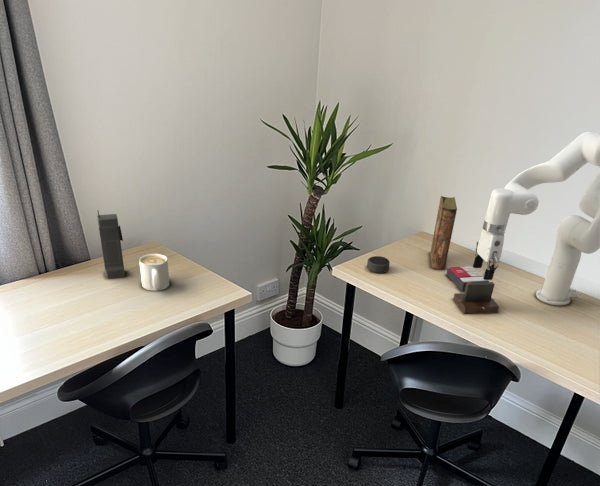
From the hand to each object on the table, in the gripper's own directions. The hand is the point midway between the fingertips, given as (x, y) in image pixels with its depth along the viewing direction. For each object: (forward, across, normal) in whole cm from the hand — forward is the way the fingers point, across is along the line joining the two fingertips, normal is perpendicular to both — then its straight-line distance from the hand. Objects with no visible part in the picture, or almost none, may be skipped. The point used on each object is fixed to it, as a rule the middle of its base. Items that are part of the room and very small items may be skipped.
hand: (482, 273), depth 216 cm
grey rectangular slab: (+10, 0, 0) cm, 10 cm away
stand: (+13, 0, 0) cm, 13 cm away
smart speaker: (+14, +33, +28) cm, 45 cm away
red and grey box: (+13, +19, -5) cm, 24 cm away
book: (+13, +39, 0) cm, 41 cm away
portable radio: (+15, +33, +130) cm, 135 cm away
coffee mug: (+15, +22, +116) cm, 119 cm away
